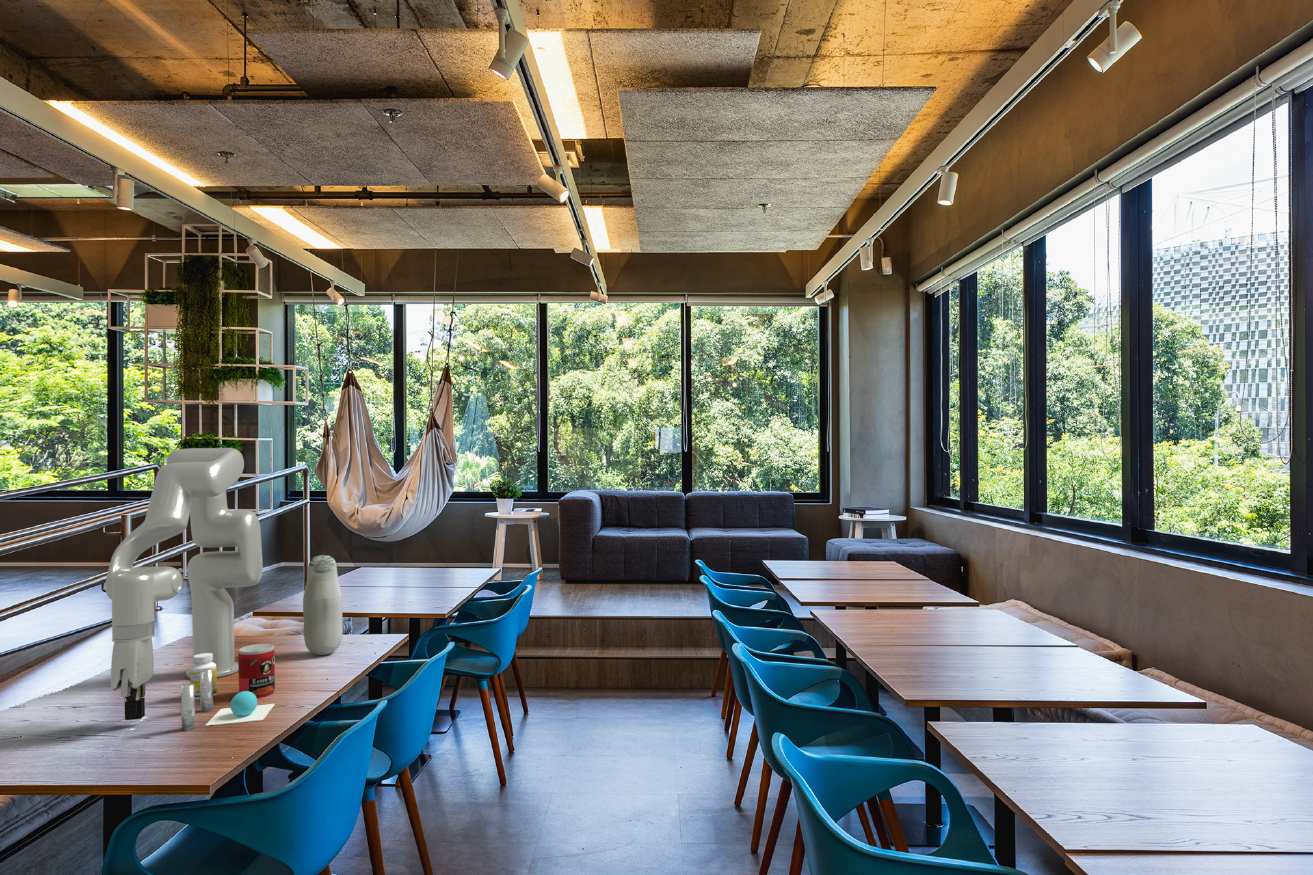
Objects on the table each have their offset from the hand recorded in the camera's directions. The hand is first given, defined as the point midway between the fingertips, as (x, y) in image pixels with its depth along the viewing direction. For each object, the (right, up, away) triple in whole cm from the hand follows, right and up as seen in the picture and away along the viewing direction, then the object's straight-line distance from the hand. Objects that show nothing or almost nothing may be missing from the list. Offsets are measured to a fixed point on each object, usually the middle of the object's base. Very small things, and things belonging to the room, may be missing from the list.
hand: (134, 717), depth 165 cm
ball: (+21, +1, +4) cm, 21 cm away
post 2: (+10, -1, +9) cm, 14 cm away
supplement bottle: (+4, -2, +19) cm, 19 cm away
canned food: (+16, -2, +20) cm, 25 cm away
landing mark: (+20, -1, +5) cm, 21 cm away
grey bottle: (+16, -2, +56) cm, 58 cm away
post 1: (+13, -1, -3) cm, 14 cm away
